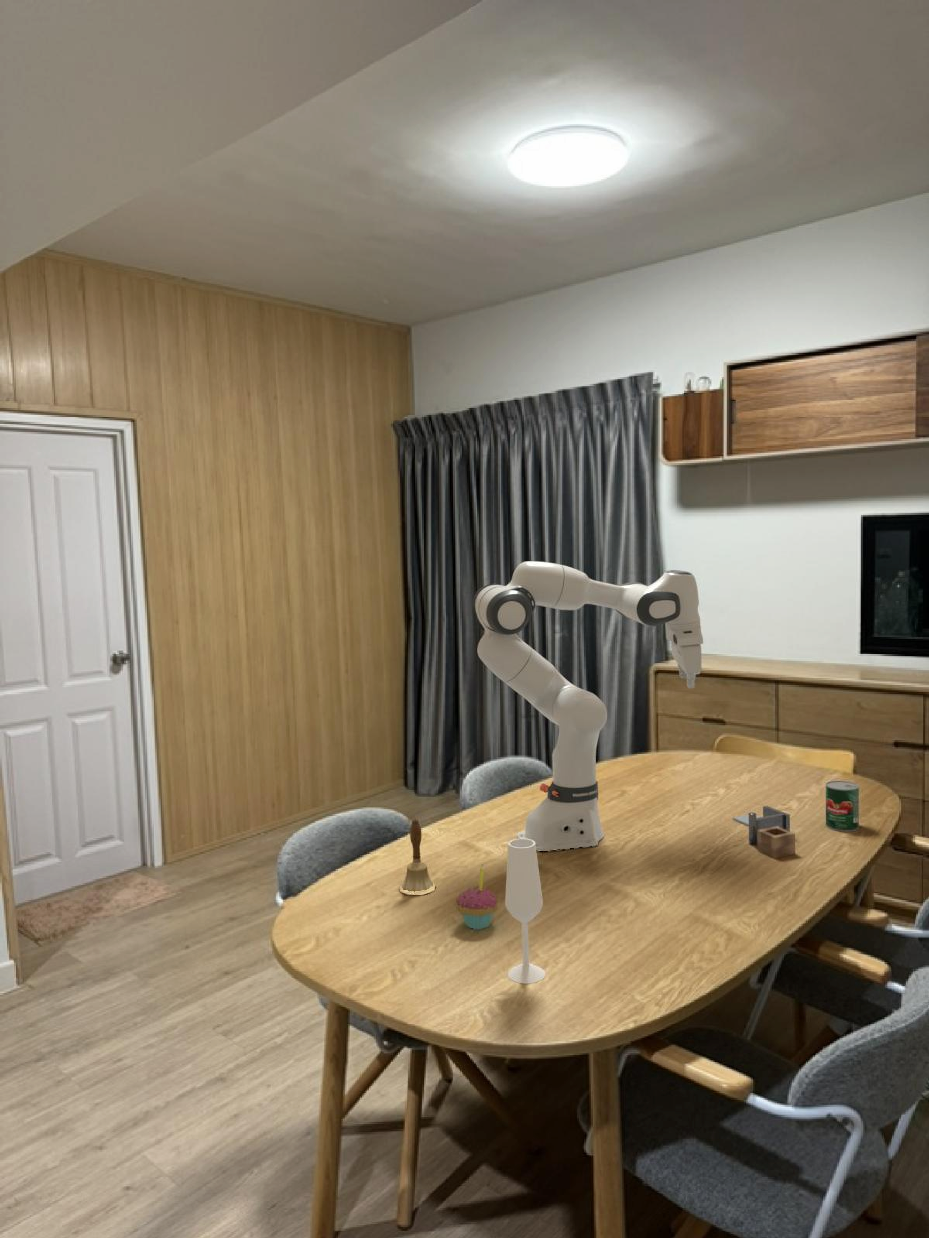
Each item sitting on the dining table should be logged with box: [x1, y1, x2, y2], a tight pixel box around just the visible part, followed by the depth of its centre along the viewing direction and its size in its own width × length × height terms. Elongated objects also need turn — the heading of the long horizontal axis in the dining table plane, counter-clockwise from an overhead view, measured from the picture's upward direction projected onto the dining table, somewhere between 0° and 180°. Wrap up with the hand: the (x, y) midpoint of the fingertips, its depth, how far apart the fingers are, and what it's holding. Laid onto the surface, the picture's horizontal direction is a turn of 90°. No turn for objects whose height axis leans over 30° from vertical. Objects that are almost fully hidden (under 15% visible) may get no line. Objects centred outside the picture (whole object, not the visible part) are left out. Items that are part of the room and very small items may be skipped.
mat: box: [732, 814, 762, 828], centre depth 227 cm, size 7×7×1 cm
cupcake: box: [455, 863, 499, 930], centre depth 172 cm, size 9×8×12 cm
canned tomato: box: [825, 780, 860, 832], centre depth 220 cm, size 8×8×11 cm
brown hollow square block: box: [756, 826, 796, 859], centre depth 204 cm, size 6×6×5 cm
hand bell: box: [400, 818, 434, 892], centre depth 191 cm, size 8×8×16 cm
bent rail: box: [748, 805, 791, 846], centre depth 215 cm, size 12×8×8 cm
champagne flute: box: [504, 838, 546, 985], centre depth 151 cm, size 7×7×24 cm
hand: (687, 682), depth 225 cm, fingers open, 8 cm apart
